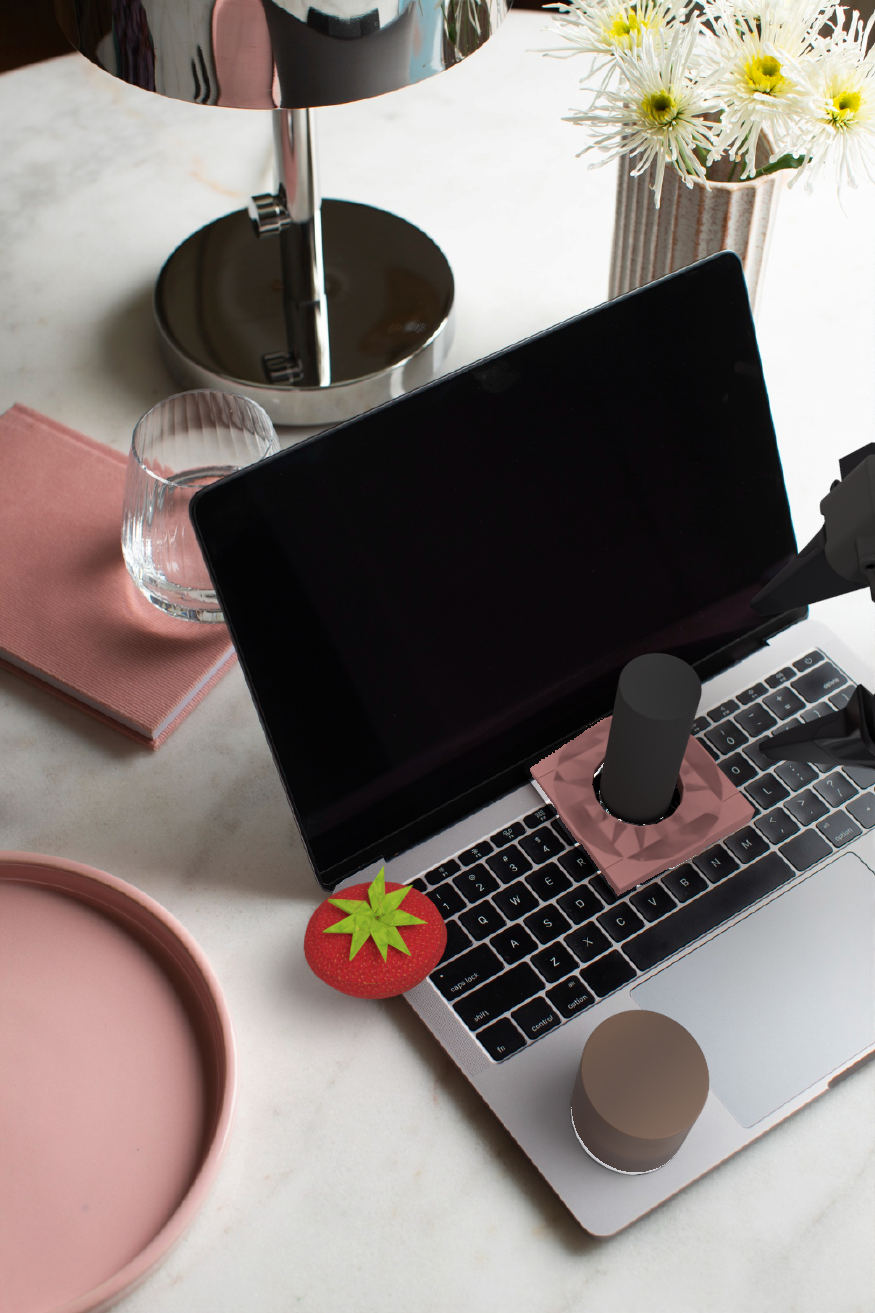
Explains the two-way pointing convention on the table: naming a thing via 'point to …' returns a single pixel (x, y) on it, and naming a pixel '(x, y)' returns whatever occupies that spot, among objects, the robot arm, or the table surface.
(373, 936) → the strawberry
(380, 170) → the table surface
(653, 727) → the cylindrical post
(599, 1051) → the cylinder
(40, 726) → the table surface
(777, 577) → the robot arm
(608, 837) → the base pad
